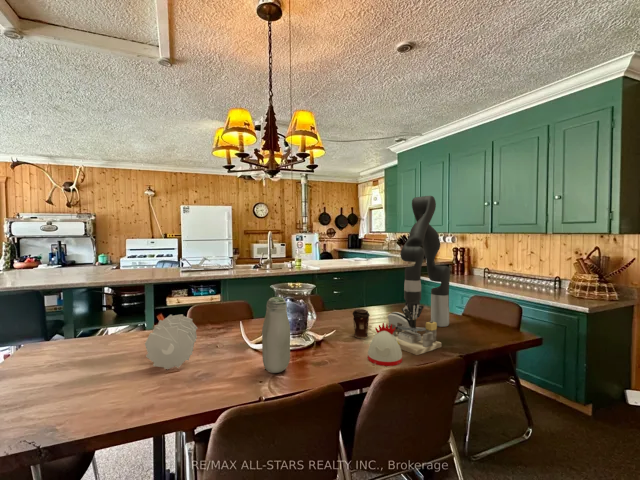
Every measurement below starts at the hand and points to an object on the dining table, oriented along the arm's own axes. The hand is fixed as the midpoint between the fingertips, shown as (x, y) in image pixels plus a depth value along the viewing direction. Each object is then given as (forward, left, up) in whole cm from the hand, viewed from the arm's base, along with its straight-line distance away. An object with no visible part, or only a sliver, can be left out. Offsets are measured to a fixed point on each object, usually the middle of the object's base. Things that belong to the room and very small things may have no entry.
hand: (412, 327), depth 149 cm
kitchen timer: (+22, +4, -9) cm, 24 cm away
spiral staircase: (+94, -44, -9) cm, 104 cm away
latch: (-7, +5, -1) cm, 8 cm away
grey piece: (-15, -20, -9) cm, 26 cm away
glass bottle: (+64, -11, -9) cm, 66 cm away
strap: (0, -2, -2) cm, 3 cm away
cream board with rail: (0, -2, -8) cm, 8 cm away
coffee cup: (+11, -23, -9) cm, 27 cm away
